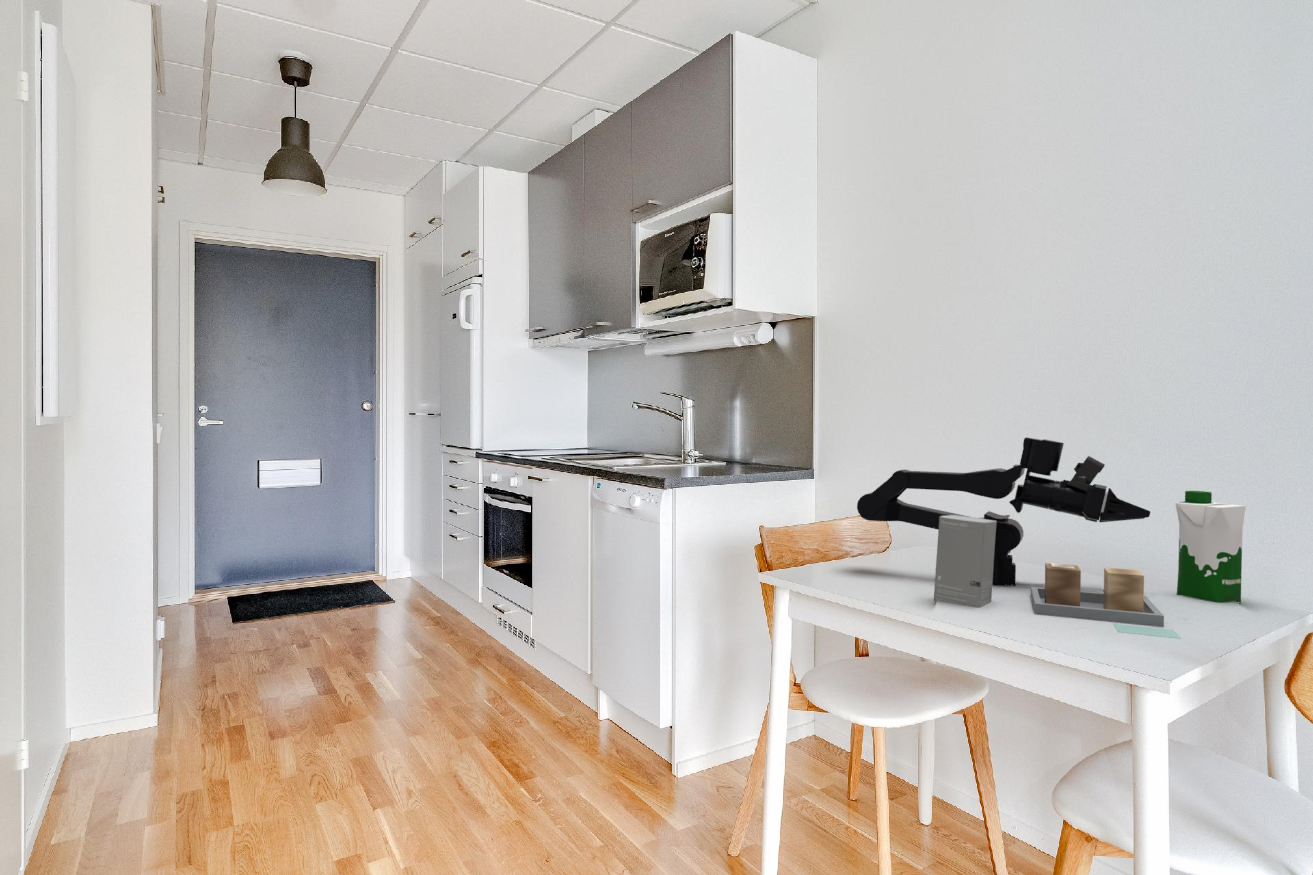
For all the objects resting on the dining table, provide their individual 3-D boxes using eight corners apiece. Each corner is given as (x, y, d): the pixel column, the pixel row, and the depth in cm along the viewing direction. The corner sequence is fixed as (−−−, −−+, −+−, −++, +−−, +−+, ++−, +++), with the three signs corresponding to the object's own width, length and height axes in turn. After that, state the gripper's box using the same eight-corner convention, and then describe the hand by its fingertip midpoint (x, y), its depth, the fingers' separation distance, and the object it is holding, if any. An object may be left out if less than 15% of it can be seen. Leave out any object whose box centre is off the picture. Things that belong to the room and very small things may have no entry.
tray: (1034, 618, 123) (1035, 603, 123) (1030, 600, 136) (1030, 586, 136) (1163, 631, 116) (1163, 615, 116) (1146, 610, 128) (1146, 596, 128)
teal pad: (1118, 636, 113) (1118, 631, 113) (1113, 628, 117) (1113, 623, 117) (1181, 643, 109) (1181, 638, 109) (1173, 634, 114) (1173, 629, 114)
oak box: (1107, 614, 123) (1108, 572, 123) (1103, 607, 127) (1104, 567, 127) (1143, 618, 121) (1144, 575, 120) (1137, 611, 125) (1138, 570, 125)
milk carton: (1197, 593, 142) (1199, 489, 142) (1250, 604, 134) (1253, 494, 133) (1168, 597, 139) (1170, 491, 138) (1221, 608, 130) (1223, 495, 130)
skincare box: (933, 604, 132) (934, 516, 132) (948, 597, 138) (949, 512, 137) (981, 612, 127) (983, 520, 126) (995, 605, 132) (997, 517, 132)
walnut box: (1046, 608, 126) (1047, 567, 126) (1044, 602, 131) (1045, 562, 131) (1080, 612, 124) (1080, 569, 124) (1076, 605, 129) (1077, 564, 129)
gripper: (1060, 448, 134) (1163, 467, 126) (1062, 458, 150) (1153, 475, 142) (1046, 508, 134) (1148, 531, 126) (1050, 511, 150) (1139, 532, 142)
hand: (1147, 515), depth 134 cm, fingers open, 9 cm apart
